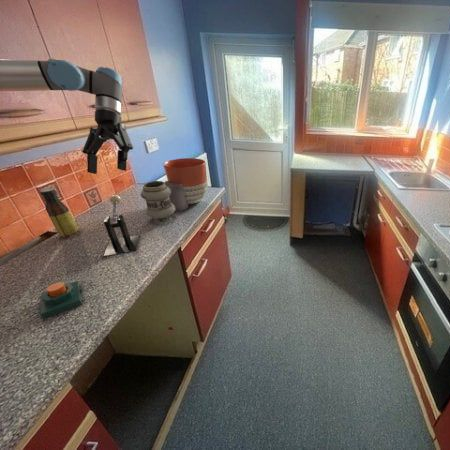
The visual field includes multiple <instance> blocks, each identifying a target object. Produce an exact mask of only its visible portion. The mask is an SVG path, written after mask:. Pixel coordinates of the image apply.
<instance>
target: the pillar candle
mask: <svg viewBox="0 0 450 450" xmlns="http://www.w3.org/2000/svg"><path fill="white" fill-rule="evenodd" d="M163 182H164V183H165V185H166V186H167V187H169V188H170V189H171V194H170V195H169V197H170V201H171V203H172V204H174V206H175V208H176V209H175V211H178V212H182V211H185V210H187V209H189V207H190V206H189V205H190V204H188V201H187V199H186V196H185V193H184V189H183V184H177V183H172V182H169V181H168V180H166V181H163Z"/></svg>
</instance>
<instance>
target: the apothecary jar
mask: <svg viewBox="0 0 450 450" xmlns="http://www.w3.org/2000/svg"><path fill="white" fill-rule="evenodd" d="M164 182H165V181H162V180H154V181H148V182H146V183H144V184H143V185H142V190H141V191H140V197H141V198H142V199H143V200H145V204H146V208H145V215H146V216H148V217H150V218H151V219H153V220H154V222H157V223H164V222H168V221H169V220H171V219H172V216H171V215H173V214H174V213H175V211H176V210H175V209H176V208H175V206H174V204H172V203H171V201H170V197H169V195H170V194H171V189H170V188H169V187H167V186H166V185H165V183H164Z"/></svg>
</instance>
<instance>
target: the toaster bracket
mask: <svg viewBox="0 0 450 450" xmlns="http://www.w3.org/2000/svg"><path fill="white" fill-rule="evenodd" d="M117 217H118V220H117V221H118V224H119V227H118V228H119V229H120V232H121V235H122V237H118V236H117V233H116V229H115V228H112V227H111V225H110V218H111V216H106V217H105V218H104V221H103V224H104V227H105V229H106V232H107V236H108V237H109V242H108V244H107V246H106V249H105V252H104V253H103V257H110V256H115V255H116V256H117V255H121V254H128V253H133V252H134V253H135V252H137V251H138V245H139V241H140V238H141V237H140V236H141V235H140V234H138V235H137V234H136V235H130V233H129V229H128V227H127V224H126V220H125V217H124V215H123V214H118V216H117Z"/></svg>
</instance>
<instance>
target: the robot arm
mask: <svg viewBox="0 0 450 450" xmlns="http://www.w3.org/2000/svg"><path fill="white" fill-rule="evenodd" d="M37 91H39V92H40V91H67V92H68V91H69V92H70V91H71V92H73V91H79V92H84V93H86V94H90V95H94V96H95V98H94V110H95V111H94V121H95V123H96V124H97V127H93V126H91V127H90V128H89V133H88V136H87V138H86V141H85V142H84V143H85V144H84V145H83V149H82V154H85V155H86V163H87V167H86V168H87V171H86V172H87V173H90V174H94V175H97V174H98V156H97V154H98V152H99V151H100V149H101V148H102V146H103V144H104V143H106V142H107V141H110V140H113V142H114V143H115V144H116V147H118V148H117V166H116V169H117V170H121V171H124V172H126V171H127V161H128V158H129V157H128V154H129V152H130V150H131V151H132V150H134V146H133V143H132V141H131V138H130V136H129V134H128V132H127V126H126V125H125V124H123V123H122V100H123V99H122V98H123V79H122V76H121V74H119V72H118V71H116V70H115V69H113V68H110V67H108V66H107V67H106V66H105V67H104V66H99V67H97V68H96V70H95V71H94V70H90V69H87V68H84V67H81V66H78V65H75V64H74V63H72V62H70V61H68V60H65V59H56V58H51V57H50V58H48V59H47V60H36V59H34V60H33V59H3V58H2V59H0V92H37Z"/></svg>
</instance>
